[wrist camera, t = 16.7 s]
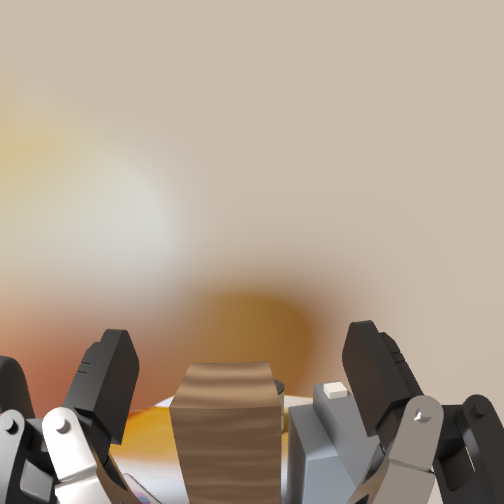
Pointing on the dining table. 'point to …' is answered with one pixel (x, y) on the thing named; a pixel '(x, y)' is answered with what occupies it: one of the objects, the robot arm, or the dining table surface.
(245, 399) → the walnut stand
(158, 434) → the dining table surface
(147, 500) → the smartphone
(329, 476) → the block
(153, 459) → the dining table surface
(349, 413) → the bar
